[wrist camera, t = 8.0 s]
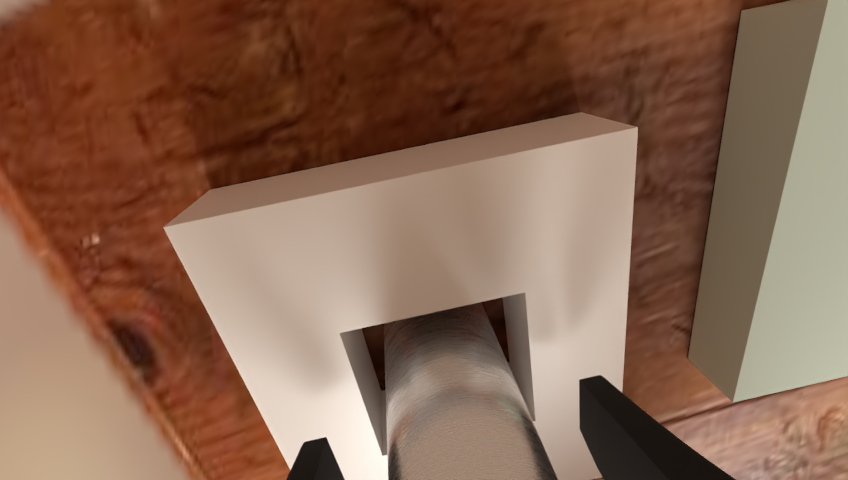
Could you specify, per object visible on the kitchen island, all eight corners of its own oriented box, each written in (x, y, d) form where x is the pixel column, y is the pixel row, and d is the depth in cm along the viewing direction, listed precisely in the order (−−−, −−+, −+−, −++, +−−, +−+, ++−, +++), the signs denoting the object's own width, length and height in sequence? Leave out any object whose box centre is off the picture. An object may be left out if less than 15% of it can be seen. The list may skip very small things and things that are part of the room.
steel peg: (488, 350, 16) (599, 640, 8) (393, 369, 16) (412, 683, 8) (479, 268, 15) (609, 534, 6) (373, 289, 14) (371, 586, 6)
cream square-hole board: (582, 413, 19) (617, 473, 16) (334, 469, 18) (327, 541, 16) (580, 112, 12) (637, 127, 10) (210, 189, 12) (163, 227, 10)
